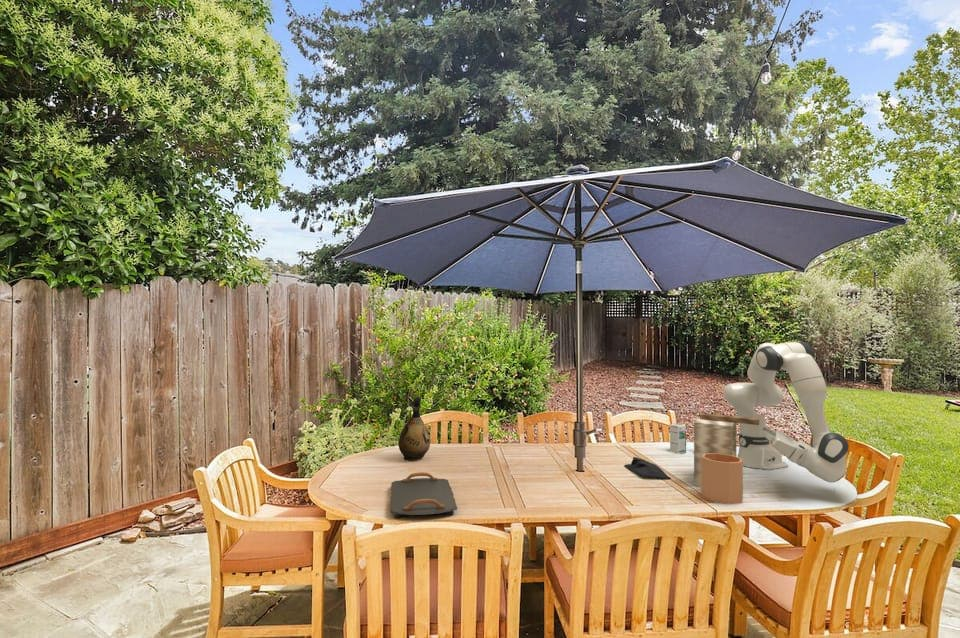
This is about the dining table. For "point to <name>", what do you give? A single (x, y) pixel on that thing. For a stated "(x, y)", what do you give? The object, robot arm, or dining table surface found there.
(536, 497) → the dining table surface
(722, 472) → the pot
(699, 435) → the zigzag patterned cylinder
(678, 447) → the syrup box
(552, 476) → the dining table surface
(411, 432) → the ceramic jug
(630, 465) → the black cloth
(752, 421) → the slat
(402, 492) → the serving board
